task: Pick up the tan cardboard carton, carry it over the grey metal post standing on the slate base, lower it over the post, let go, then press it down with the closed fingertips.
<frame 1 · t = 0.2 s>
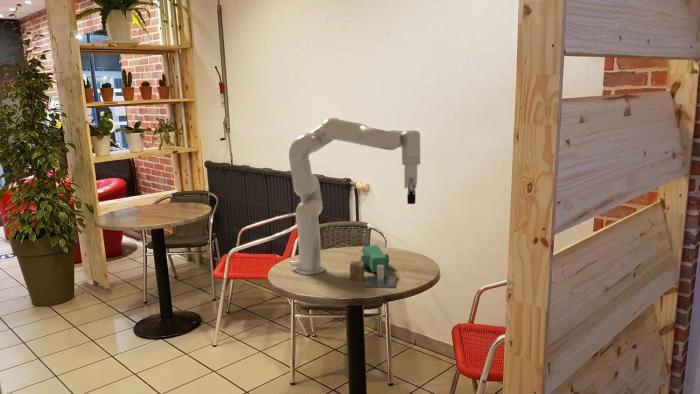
hand: (411, 201, 219), 31 cm above the table, tool pointing down, fingers open, 9 cm apart
toy: (373, 266, 235), on the table
tan cardboard carton: (357, 278, 218), on the table
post: (380, 282, 212), on the table
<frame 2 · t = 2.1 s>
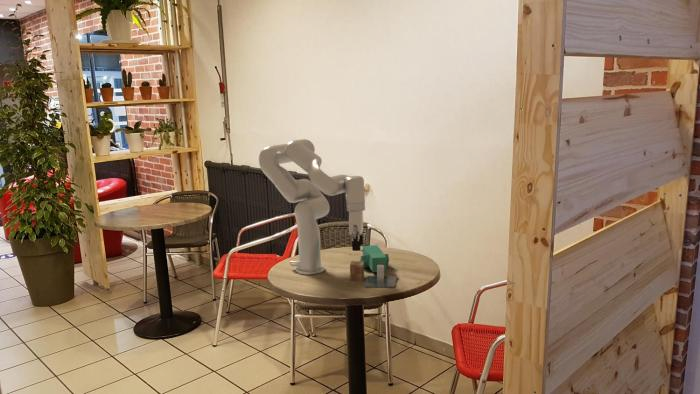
hand: (357, 247, 215), 14 cm above the table, tool pointing down, fingers open, 9 cm apart
nothing on the table moved.
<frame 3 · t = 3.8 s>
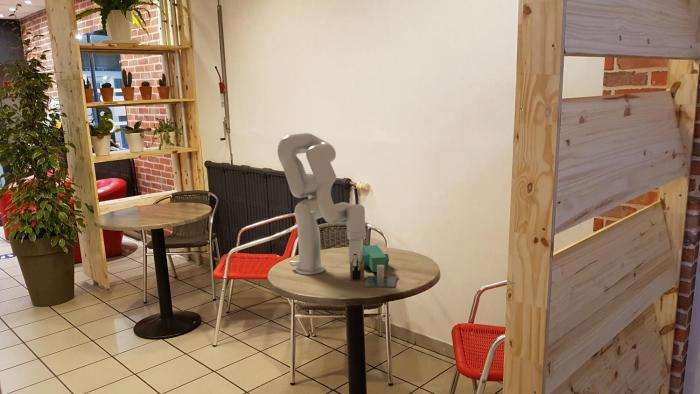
hand: (357, 276, 217), 1 cm above the table, tool pointing down, fingers closed on tan cardboard carton, 5 cm apart
tan cardboard carton: (357, 278, 218), on the table, touching gripper
everything else where it was.
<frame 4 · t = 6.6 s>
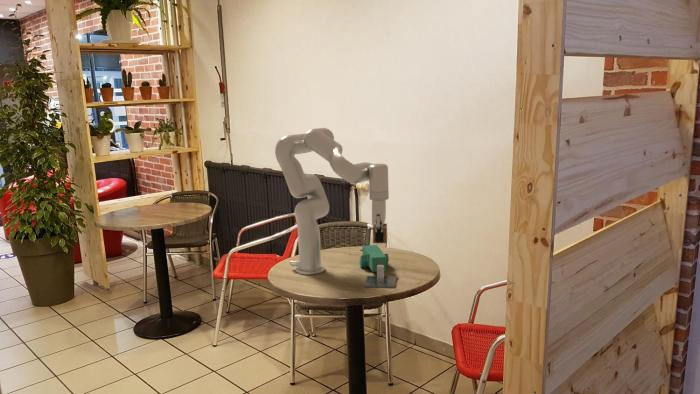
hand: (380, 239, 209), 18 cm above the table, tool pointing down, fingers closed on tan cardboard carton, 5 cm apart
tan cardboard carton: (380, 241, 209), point 17 cm above the table, touching gripper
when the fingers open (3 cm above the table, at t = 9.5 s): tan cardboard carton drops 1 cm, resting on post.
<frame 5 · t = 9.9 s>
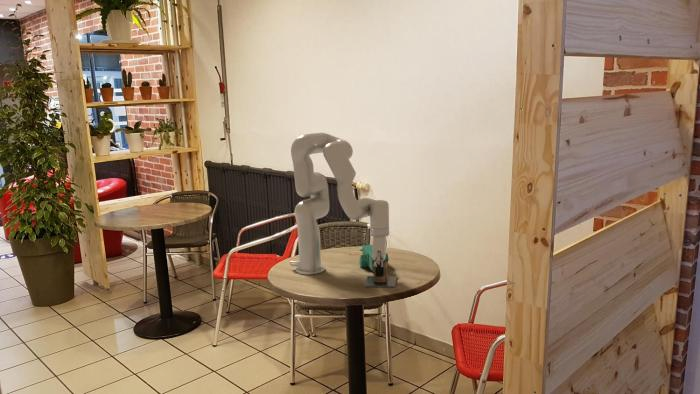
hand: (380, 272, 212), 4 cm above the table, tool pointing down, fingers open, 9 cm apart
tan cardboard carton: (380, 280, 212), point 1 cm above the table, touching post
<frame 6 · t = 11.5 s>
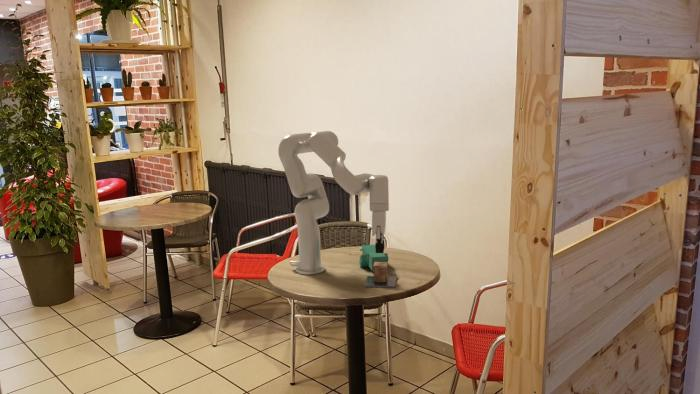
hand: (380, 250, 210), 13 cm above the table, tool pointing down, fingers open, 3 cm apart
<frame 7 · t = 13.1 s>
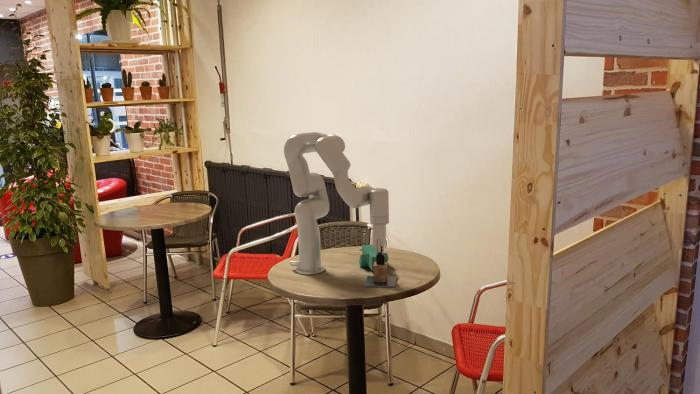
hand: (380, 263, 211), 8 cm above the table, tool pointing down, fingers closed
tan cardboard carton: (380, 280, 212), point 1 cm above the table, touching gripper, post
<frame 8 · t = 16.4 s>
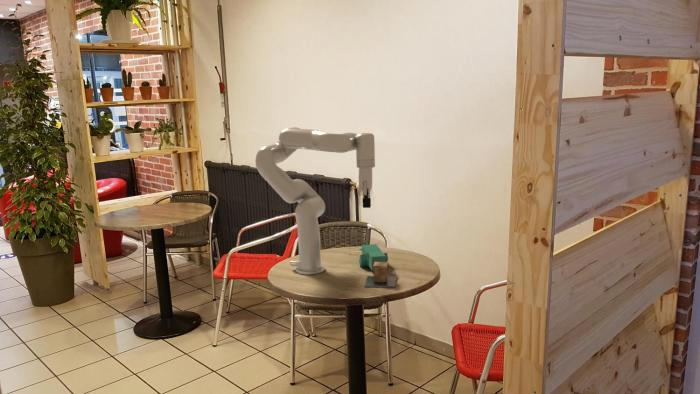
hand: (366, 207, 218), 29 cm above the table, tool pointing down, fingers closed
tan cardboard carton: (380, 280, 212), point 1 cm above the table, touching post
at the end: tan cardboard carton 0.0 cm from the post (horizontally); tan cardboard carton point 1.0 cm above the table; the gripper is holding nothing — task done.
